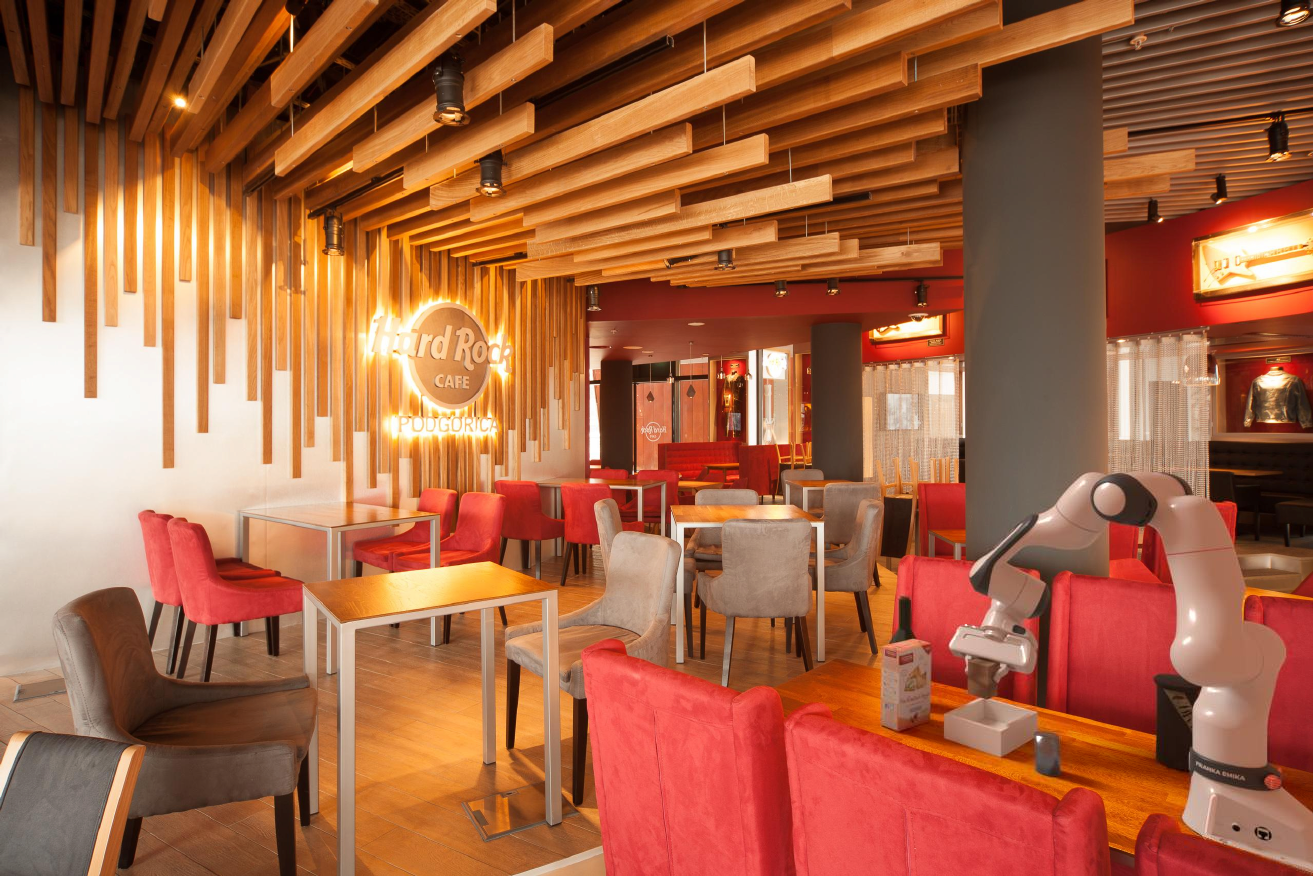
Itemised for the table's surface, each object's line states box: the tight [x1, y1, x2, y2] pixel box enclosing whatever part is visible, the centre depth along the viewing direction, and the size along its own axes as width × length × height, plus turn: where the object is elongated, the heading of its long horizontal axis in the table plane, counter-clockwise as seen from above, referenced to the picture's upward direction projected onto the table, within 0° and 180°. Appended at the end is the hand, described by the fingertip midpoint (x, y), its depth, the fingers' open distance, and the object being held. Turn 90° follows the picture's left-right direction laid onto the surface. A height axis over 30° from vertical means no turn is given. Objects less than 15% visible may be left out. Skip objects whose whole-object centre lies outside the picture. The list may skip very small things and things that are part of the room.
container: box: [1152, 673, 1202, 772], centre depth 163 cm, size 9×9×20 cm
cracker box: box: [880, 638, 932, 733], centre depth 186 cm, size 14×6×21 cm, turn 125°
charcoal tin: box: [1033, 730, 1062, 777], centre depth 159 cm, size 5×5×8 cm
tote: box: [943, 697, 1039, 758], centre depth 177 cm, size 14×20×6 cm
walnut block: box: [967, 658, 999, 700], centre depth 175 cm, size 5×5×8 cm
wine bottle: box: [888, 595, 918, 645], centre depth 202 cm, size 8×8×30 cm
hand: (981, 677), depth 174 cm, fingers closed on walnut block, 5 cm apart
